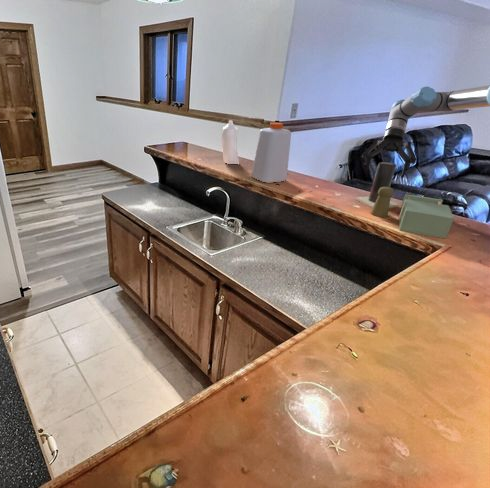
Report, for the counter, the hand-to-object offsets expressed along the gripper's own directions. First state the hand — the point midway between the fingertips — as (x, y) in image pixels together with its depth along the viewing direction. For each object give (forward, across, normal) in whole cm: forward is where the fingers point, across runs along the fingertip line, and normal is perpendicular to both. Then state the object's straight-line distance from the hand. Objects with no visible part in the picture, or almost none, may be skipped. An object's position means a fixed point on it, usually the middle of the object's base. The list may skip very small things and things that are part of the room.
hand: (384, 173), depth 149 cm
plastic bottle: (+4, +50, -13) cm, 52 cm away
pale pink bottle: (-12, +80, -29) cm, 86 cm away
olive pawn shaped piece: (+22, -2, +5) cm, 23 cm away
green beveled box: (+27, -15, +10) cm, 32 cm away
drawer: (+17, -15, +2) cm, 23 cm away
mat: (+12, 0, -5) cm, 13 cm away
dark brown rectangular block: (+11, 0, -4) cm, 12 cm away
